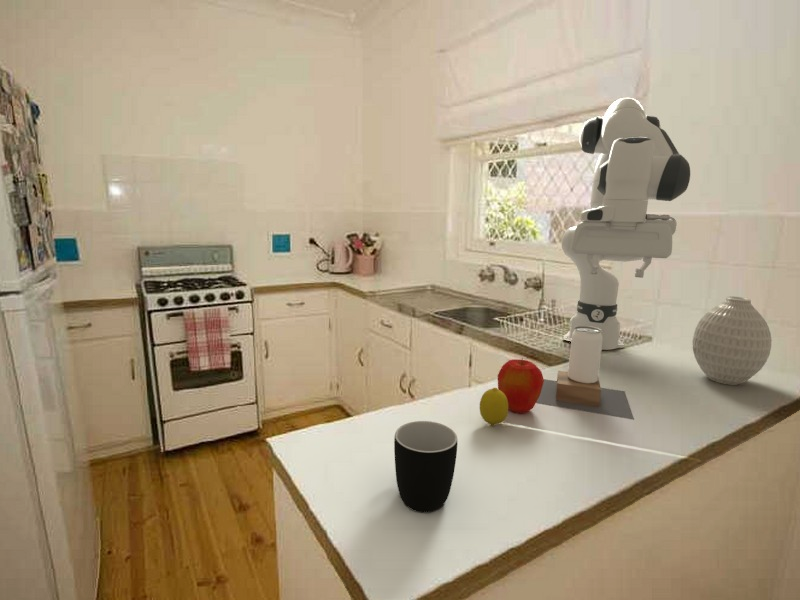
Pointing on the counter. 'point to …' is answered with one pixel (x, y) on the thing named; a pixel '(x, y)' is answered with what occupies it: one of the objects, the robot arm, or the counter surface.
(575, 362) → the can
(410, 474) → the mug
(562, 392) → the plinth
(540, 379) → the apple
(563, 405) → the mat
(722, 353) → the vase
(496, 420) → the lemon
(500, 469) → the counter surface
